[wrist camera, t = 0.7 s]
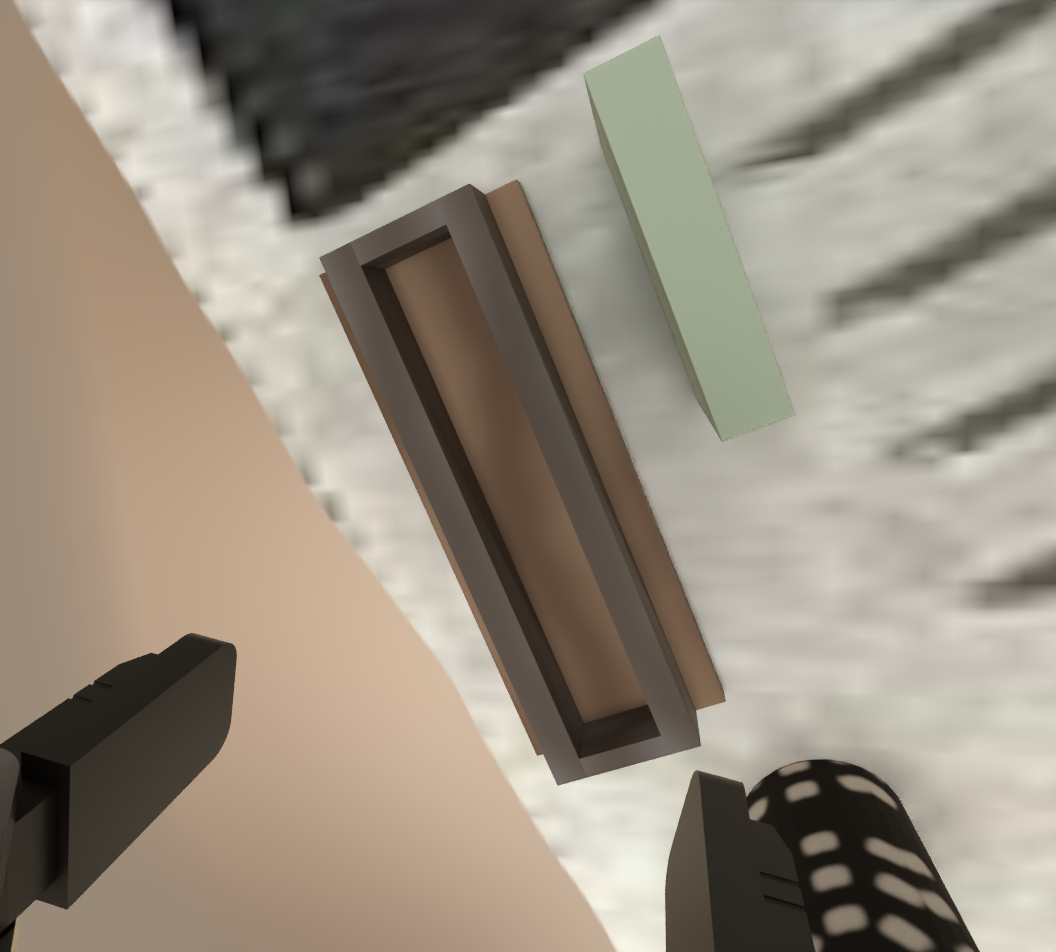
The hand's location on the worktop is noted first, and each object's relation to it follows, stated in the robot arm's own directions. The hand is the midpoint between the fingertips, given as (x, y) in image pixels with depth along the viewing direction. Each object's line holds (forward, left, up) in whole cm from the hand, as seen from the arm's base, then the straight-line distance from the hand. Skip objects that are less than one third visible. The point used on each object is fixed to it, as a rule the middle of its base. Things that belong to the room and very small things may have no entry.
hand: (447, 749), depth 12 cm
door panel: (-8, -6, -23) cm, 25 cm away
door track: (+2, +1, -23) cm, 23 cm away
